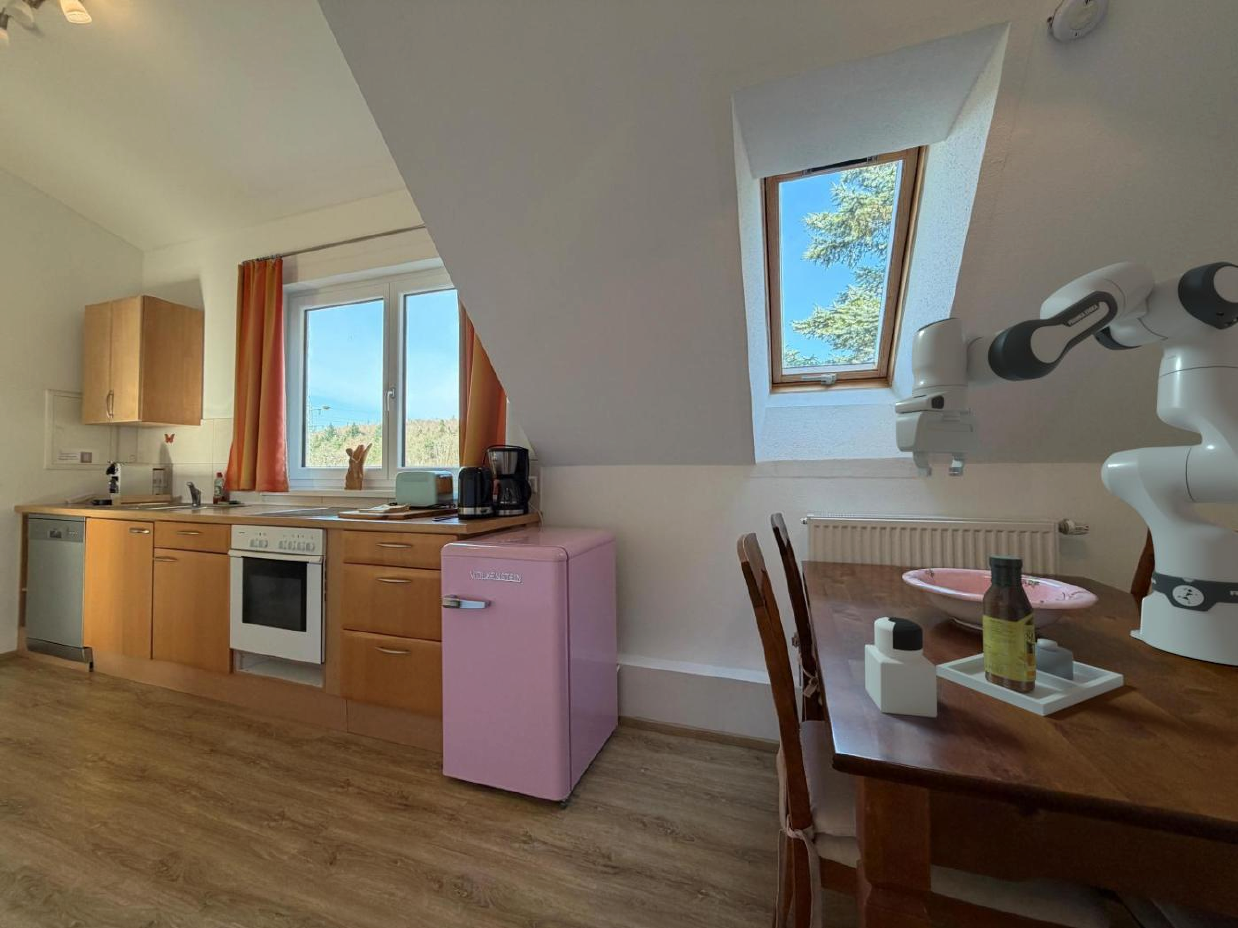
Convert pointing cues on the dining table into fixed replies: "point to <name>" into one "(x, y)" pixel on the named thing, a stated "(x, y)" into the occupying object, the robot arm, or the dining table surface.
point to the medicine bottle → (900, 669)
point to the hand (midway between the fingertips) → (940, 476)
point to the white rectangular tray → (1048, 688)
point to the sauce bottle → (1008, 628)
